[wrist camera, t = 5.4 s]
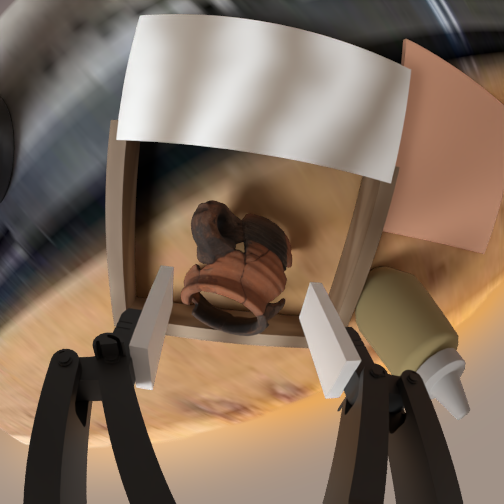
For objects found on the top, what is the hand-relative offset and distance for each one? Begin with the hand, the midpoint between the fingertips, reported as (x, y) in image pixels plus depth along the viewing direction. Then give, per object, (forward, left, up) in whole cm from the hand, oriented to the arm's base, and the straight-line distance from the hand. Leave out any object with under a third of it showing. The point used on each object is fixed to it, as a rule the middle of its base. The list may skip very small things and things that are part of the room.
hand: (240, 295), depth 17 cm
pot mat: (+22, +13, -10) cm, 28 cm away
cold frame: (0, 0, -10) cm, 10 cm away
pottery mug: (+1, 0, -11) cm, 11 cm away
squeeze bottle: (+16, -4, -10) cm, 20 cm away
